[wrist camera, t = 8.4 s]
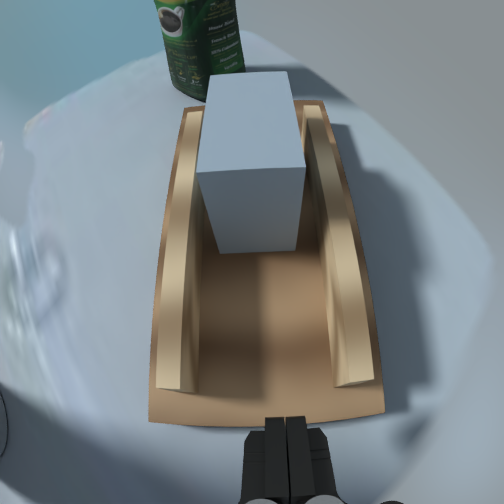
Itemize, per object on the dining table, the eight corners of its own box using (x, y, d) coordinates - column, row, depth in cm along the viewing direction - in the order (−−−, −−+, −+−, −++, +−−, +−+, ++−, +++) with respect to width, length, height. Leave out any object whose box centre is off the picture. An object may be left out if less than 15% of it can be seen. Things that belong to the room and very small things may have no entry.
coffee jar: (257, 83, 36) (249, -53, 19) (208, 110, 33) (182, -41, 17) (209, 63, 39) (192, -51, 23) (164, 87, 37) (133, -35, 20)
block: (295, 250, 21) (306, 167, 14) (219, 253, 21) (195, 172, 14) (284, 154, 25) (286, 71, 18) (224, 157, 25) (210, 75, 18)
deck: (370, 412, 18) (412, 412, 12) (164, 420, 19) (119, 423, 12) (319, 122, 31) (326, 68, 25) (189, 129, 32) (176, 76, 26)
